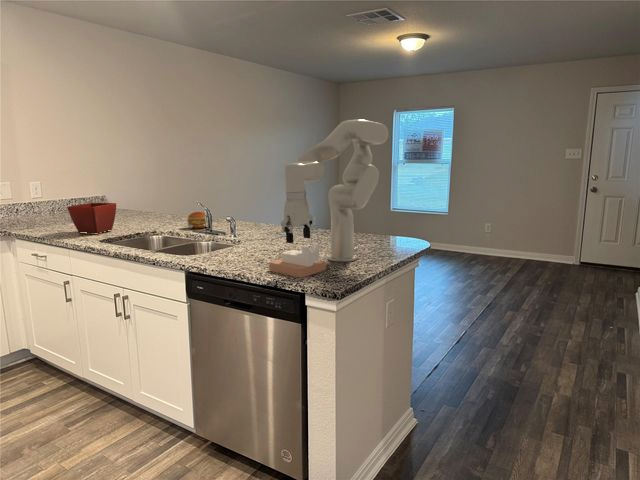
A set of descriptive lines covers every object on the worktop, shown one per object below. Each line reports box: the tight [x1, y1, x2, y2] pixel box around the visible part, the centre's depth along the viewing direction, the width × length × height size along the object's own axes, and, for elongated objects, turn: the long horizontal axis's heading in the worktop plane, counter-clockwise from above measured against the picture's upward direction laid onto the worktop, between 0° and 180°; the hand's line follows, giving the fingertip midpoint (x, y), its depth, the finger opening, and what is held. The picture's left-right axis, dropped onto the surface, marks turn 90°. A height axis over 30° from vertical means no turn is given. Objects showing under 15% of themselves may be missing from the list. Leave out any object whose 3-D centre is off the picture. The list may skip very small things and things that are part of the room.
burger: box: [187, 211, 206, 230], centre depth 276 cm, size 13×14×10 cm
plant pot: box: [66, 202, 117, 233], centre depth 263 cm, size 19×19×17 cm
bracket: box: [281, 242, 320, 267], centre depth 171 cm, size 13×7×8 cm, turn 53°
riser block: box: [268, 258, 327, 278], centre depth 173 cm, size 14×17×4 cm
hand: (298, 240), depth 172 cm, fingers open, 9 cm apart
